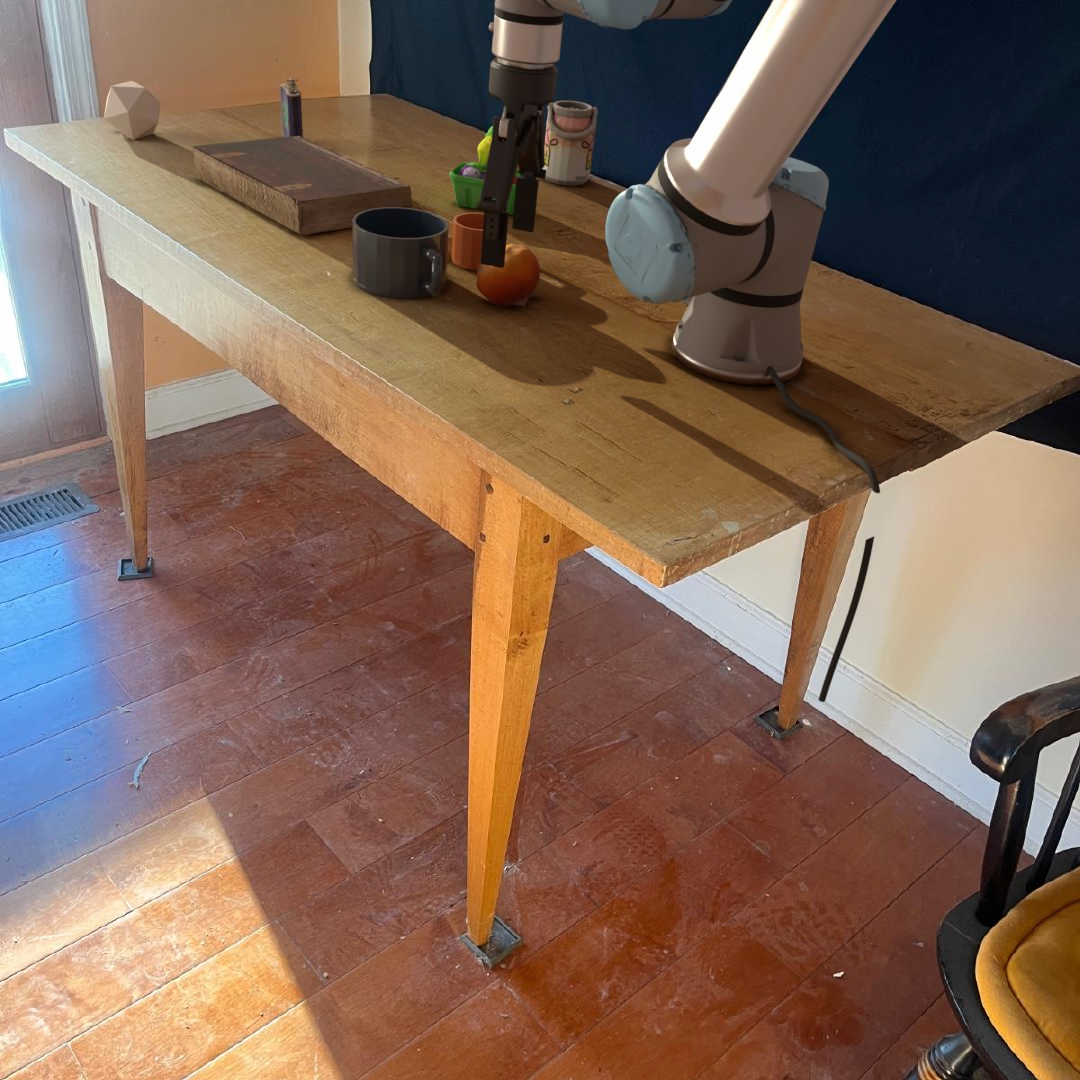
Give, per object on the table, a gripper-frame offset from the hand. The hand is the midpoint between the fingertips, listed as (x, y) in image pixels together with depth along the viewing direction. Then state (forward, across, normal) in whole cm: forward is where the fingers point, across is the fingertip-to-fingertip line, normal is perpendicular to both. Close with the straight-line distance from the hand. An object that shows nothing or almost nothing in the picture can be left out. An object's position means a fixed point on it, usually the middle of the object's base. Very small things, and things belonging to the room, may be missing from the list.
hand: (508, 247), depth 127 cm
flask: (+8, -49, -52) cm, 72 cm away
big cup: (+7, +2, -12) cm, 14 cm away
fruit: (+7, 0, 0) cm, 7 cm away
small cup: (+7, -12, -7) cm, 15 cm away
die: (+8, -39, -76) cm, 86 cm away
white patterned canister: (+7, -55, -5) cm, 56 cm away
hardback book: (+8, -23, -38) cm, 45 cm away
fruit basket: (+7, -35, -12) cm, 38 cm away
